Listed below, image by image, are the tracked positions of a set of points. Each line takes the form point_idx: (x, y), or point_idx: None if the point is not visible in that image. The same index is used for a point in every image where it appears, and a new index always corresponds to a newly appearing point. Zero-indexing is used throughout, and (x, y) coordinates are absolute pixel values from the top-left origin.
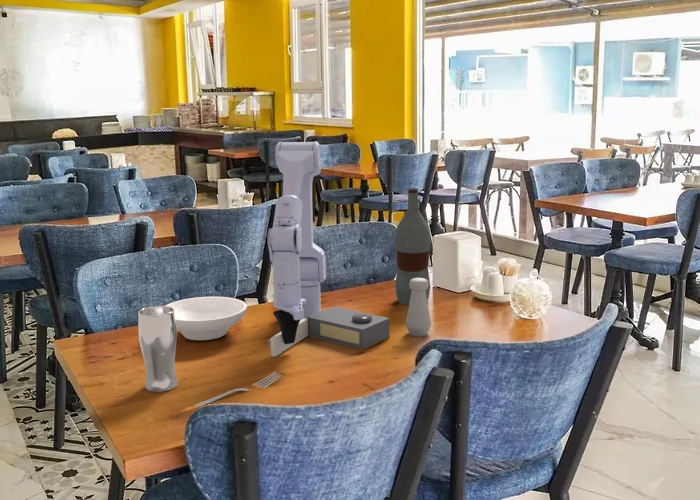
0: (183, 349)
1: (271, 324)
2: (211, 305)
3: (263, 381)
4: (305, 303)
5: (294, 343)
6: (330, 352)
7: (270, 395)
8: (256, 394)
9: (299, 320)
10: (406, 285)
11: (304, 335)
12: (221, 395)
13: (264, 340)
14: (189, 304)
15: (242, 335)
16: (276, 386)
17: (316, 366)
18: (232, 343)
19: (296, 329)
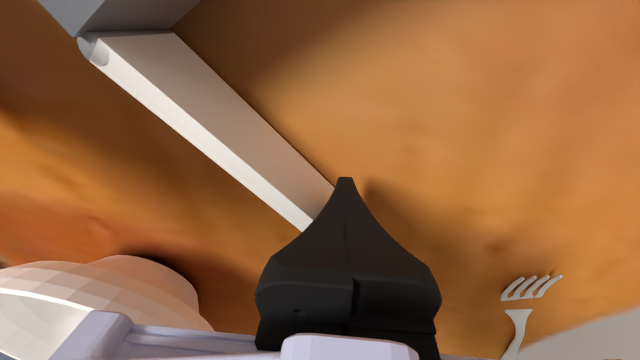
0: (232, 317)
1: (21, 124)
2: (4, 302)
3: (519, 290)
4: (417, 353)
5: (278, 135)
6: (449, 12)
7: (595, 296)
8: (558, 309)
9: (401, 250)
10: None
11: (201, 66)
12: (516, 346)
13: (204, 196)
14: (28, 338)
15: (151, 226)
16: (563, 275)
17: (545, 144)
18: (214, 258)
19: (370, 213)
